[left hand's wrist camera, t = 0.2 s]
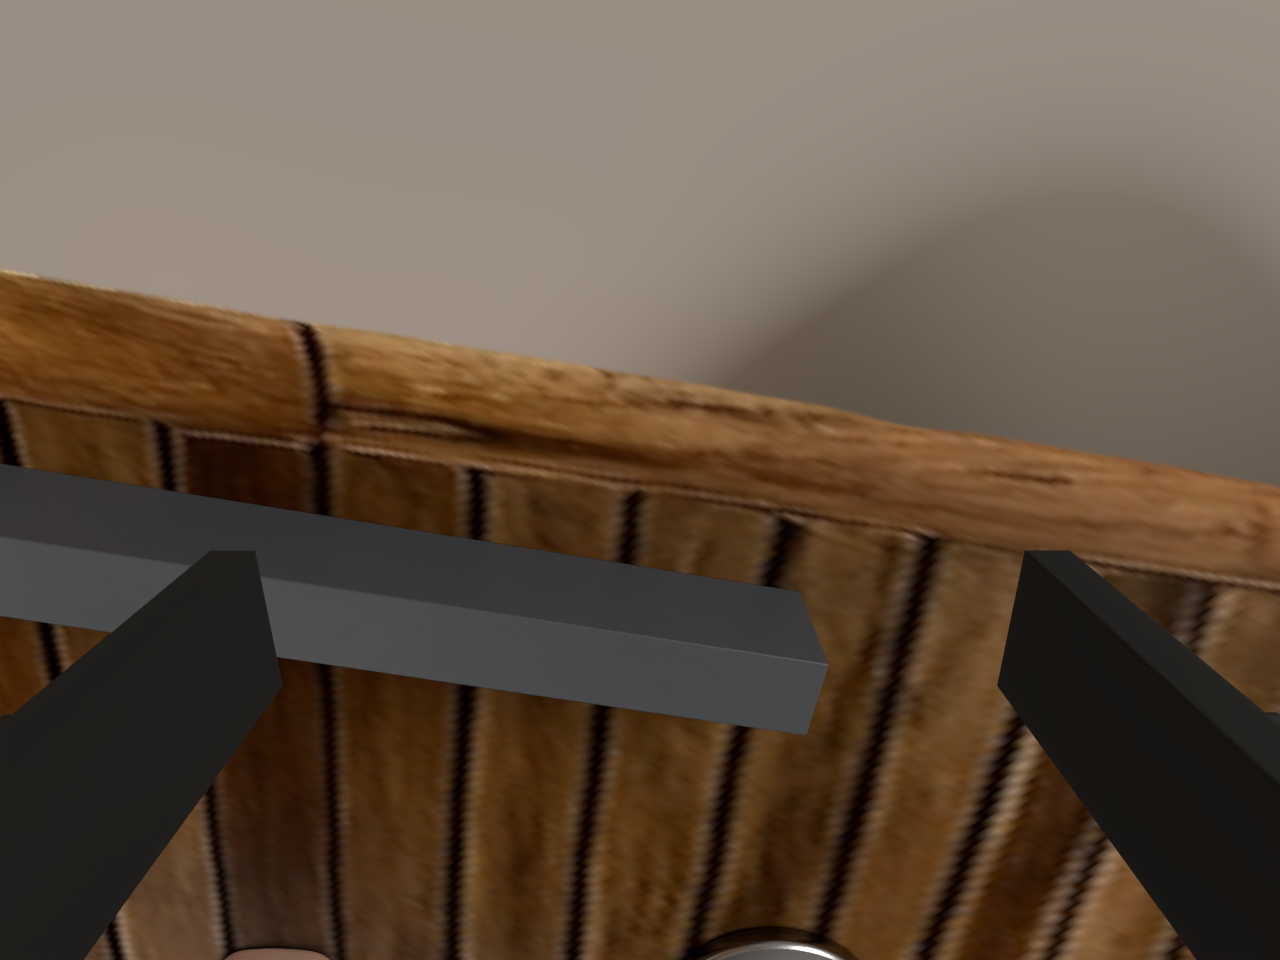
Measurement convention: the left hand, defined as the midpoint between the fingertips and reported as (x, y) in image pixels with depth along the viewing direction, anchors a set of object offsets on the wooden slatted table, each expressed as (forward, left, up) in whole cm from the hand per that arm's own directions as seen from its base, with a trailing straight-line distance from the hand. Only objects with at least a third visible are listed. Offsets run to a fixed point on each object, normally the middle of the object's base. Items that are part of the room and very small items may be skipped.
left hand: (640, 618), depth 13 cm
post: (-12, +29, -27) cm, 42 cm away
